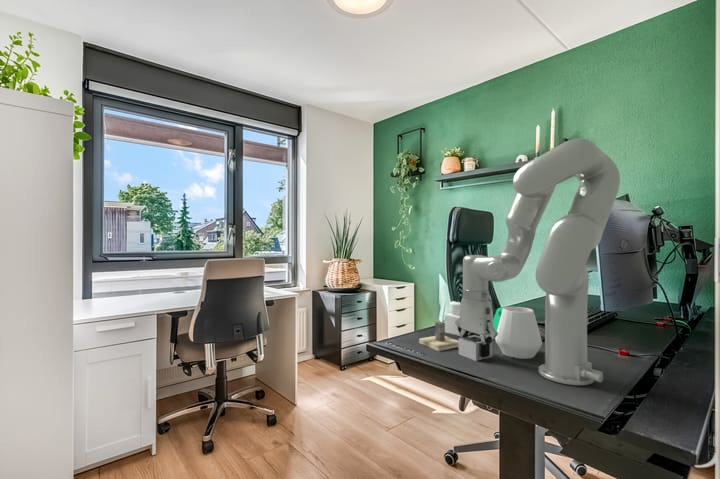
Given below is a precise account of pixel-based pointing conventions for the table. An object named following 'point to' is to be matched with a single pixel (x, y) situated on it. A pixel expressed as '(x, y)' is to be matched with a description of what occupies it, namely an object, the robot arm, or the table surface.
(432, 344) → the post block
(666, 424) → the table surface
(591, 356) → the table surface
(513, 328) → the cup
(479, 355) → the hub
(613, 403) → the table surface
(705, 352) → the table surface
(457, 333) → the medicine bottle
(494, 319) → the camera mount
